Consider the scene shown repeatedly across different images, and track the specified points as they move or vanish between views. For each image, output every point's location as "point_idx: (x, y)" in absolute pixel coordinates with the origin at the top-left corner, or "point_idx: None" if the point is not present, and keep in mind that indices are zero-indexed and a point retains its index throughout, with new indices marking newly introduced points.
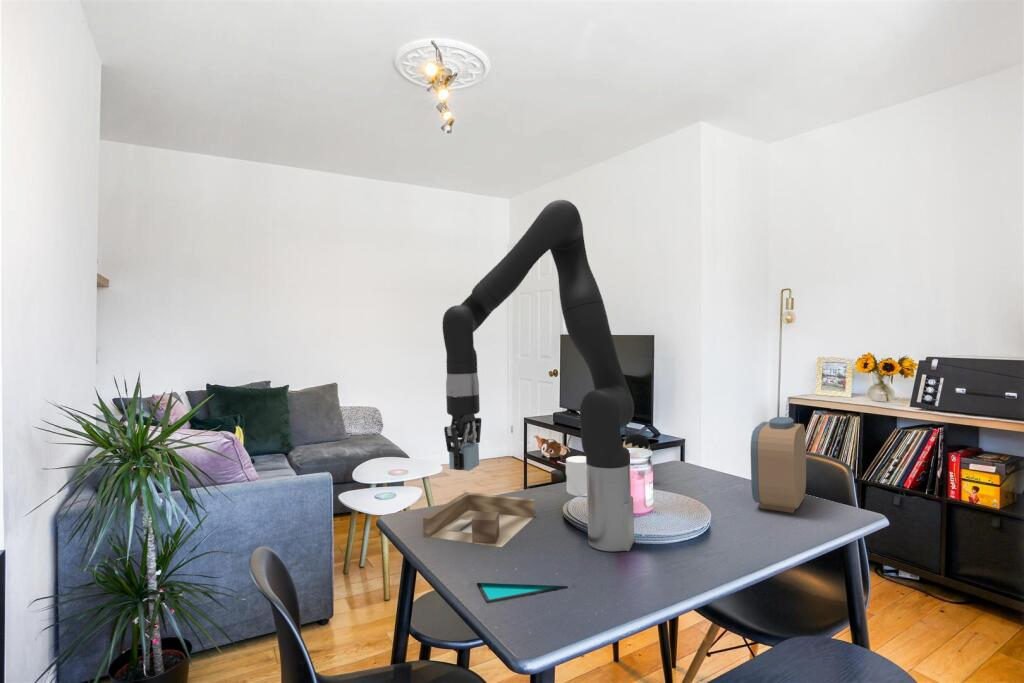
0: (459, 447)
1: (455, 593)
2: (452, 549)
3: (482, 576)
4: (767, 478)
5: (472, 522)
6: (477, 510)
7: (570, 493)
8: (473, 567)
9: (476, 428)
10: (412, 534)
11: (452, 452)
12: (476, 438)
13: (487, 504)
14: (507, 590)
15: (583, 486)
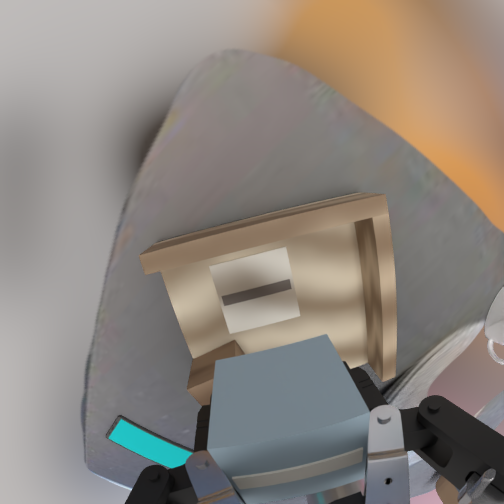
0: (237, 485)
1: (88, 404)
2: (166, 324)
3: (137, 411)
4: (450, 488)
5: (188, 386)
6: (358, 238)
7: (491, 306)
8: (145, 391)
9: (460, 479)
10: (169, 185)
11: (179, 466)
12: (420, 452)
13: (369, 272)
14: (134, 445)
15: (494, 336)
